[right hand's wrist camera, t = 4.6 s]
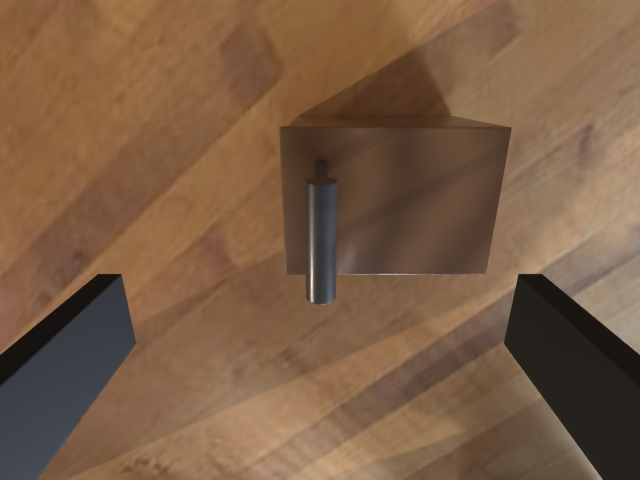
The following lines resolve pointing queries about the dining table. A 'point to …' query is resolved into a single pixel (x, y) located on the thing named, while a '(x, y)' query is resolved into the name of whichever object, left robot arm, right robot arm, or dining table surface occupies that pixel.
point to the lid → (388, 200)
